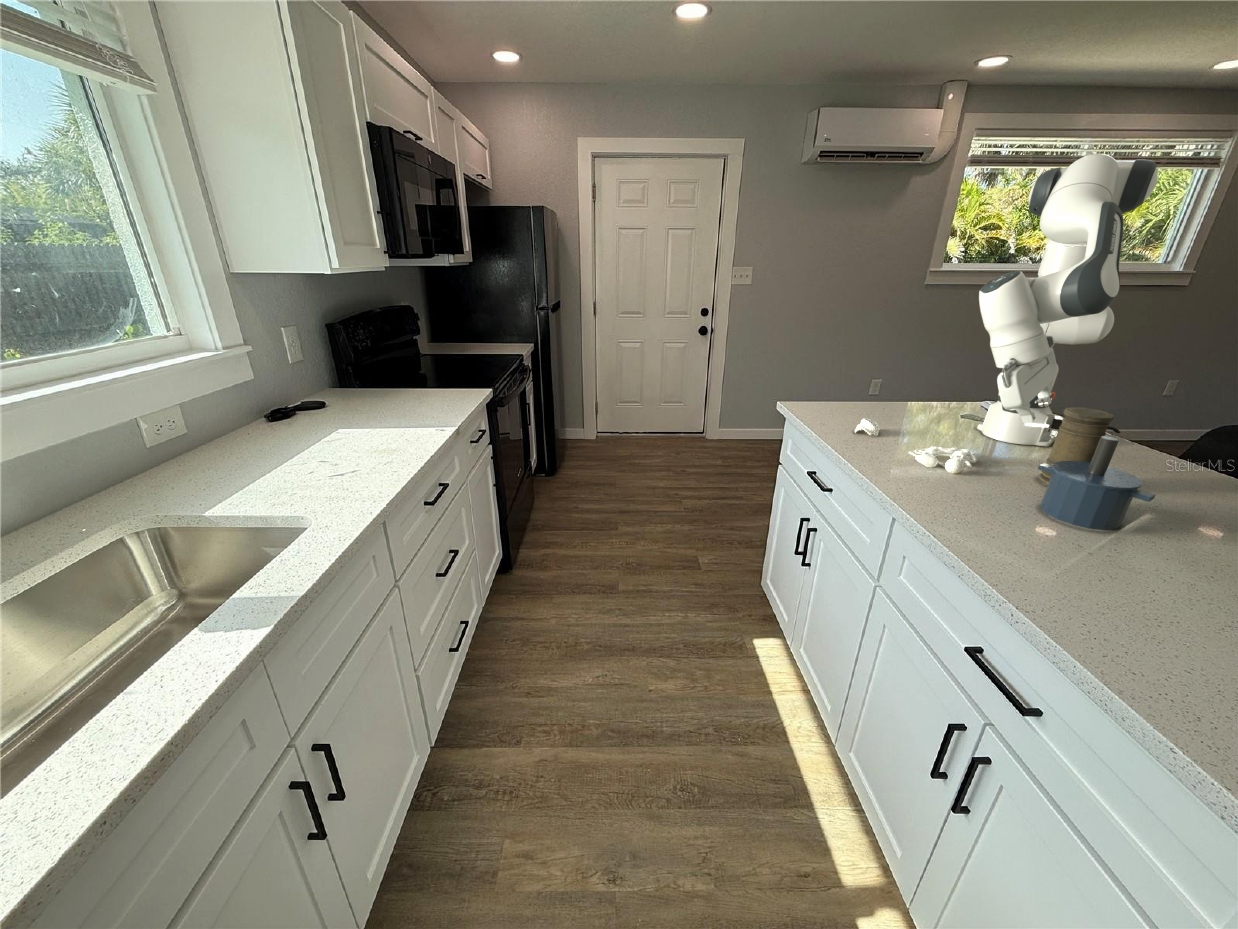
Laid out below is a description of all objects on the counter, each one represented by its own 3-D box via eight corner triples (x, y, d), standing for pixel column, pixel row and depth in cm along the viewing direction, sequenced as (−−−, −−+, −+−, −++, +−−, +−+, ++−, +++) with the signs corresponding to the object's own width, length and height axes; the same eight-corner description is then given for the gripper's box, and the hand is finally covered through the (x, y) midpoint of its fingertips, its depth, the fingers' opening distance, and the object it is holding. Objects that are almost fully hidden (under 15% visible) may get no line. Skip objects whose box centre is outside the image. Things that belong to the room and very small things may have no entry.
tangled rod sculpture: (927, 449, 141) (929, 436, 140) (987, 460, 130) (990, 445, 129) (899, 465, 129) (902, 450, 128) (963, 478, 119) (966, 462, 117)
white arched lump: (856, 430, 156) (857, 415, 155) (879, 432, 153) (881, 416, 151) (853, 436, 150) (854, 420, 148) (878, 437, 146) (879, 421, 145)
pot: (1041, 493, 112) (1056, 455, 108) (1147, 528, 98) (1167, 485, 94) (1014, 506, 107) (1028, 466, 103) (1121, 544, 92) (1141, 500, 89)
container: (1096, 494, 112) (1127, 419, 105) (1051, 491, 113) (1079, 416, 106) (1071, 478, 120) (1098, 407, 113) (1029, 475, 121) (1054, 405, 114)
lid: (1068, 460, 107) (1082, 423, 104) (1151, 483, 96) (1170, 442, 93) (1038, 473, 101) (1052, 434, 98) (1123, 499, 90) (1142, 455, 87)
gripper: (1019, 363, 94) (1038, 429, 96) (1055, 334, 104) (1072, 394, 106) (982, 371, 100) (1000, 433, 102) (1020, 342, 110) (1036, 399, 112)
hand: (1037, 413), depth 104 cm, fingers open, 8 cm apart
